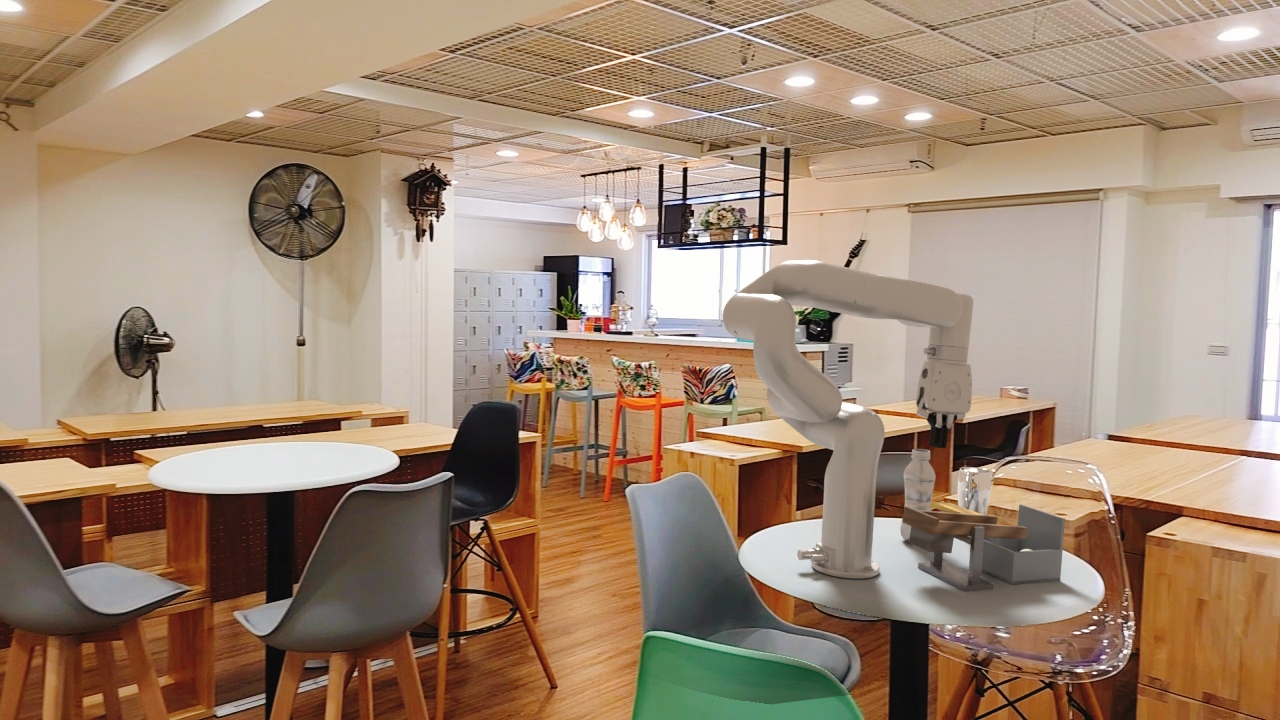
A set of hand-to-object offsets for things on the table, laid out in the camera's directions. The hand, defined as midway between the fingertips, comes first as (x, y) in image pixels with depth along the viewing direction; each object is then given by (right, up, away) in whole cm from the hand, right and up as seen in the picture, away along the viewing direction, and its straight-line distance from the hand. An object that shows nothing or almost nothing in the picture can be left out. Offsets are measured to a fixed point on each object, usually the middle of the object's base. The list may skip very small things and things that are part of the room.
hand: (937, 446), depth 174 cm
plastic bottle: (0, -22, +15) cm, 27 cm away
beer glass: (+15, -22, +22) cm, 34 cm away
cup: (+13, -24, -5) cm, 28 cm away
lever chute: (0, -18, -5) cm, 19 cm away
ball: (+16, -21, -4) cm, 27 cm away
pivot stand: (0, -24, -10) cm, 26 cm away
